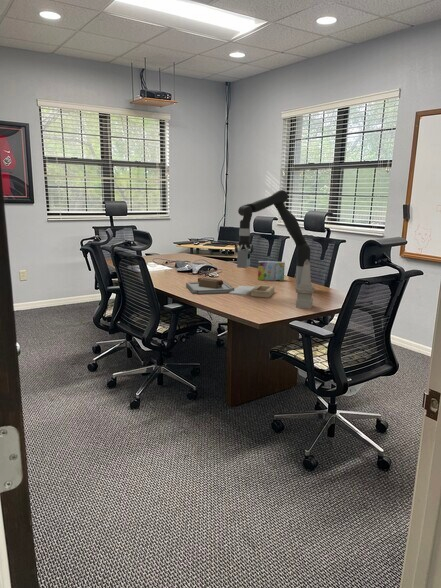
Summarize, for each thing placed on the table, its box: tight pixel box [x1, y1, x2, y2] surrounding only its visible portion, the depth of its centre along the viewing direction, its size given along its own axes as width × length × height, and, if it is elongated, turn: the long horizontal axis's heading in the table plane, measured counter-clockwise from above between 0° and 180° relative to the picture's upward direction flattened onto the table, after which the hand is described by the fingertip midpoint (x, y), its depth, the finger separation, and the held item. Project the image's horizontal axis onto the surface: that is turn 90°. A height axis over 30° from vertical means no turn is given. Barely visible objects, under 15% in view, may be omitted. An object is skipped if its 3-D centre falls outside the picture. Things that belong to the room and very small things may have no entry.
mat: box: [228, 285, 256, 296], centre depth 313 cm, size 12×26×1 cm, turn 161°
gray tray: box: [185, 277, 235, 295], centre depth 316 cm, size 30×30×8 cm
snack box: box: [257, 260, 286, 282], centre depth 355 cm, size 21×6×15 cm, turn 84°
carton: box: [250, 284, 276, 299], centre depth 304 cm, size 12×21×4 cm, turn 161°
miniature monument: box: [295, 259, 315, 310], centre depth 270 cm, size 10×10×30 cm
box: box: [236, 248, 251, 269], centre depth 308 cm, size 6×12×12 cm, turn 161°
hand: (243, 258), depth 308 cm, fingers closed on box, 6 cm apart
